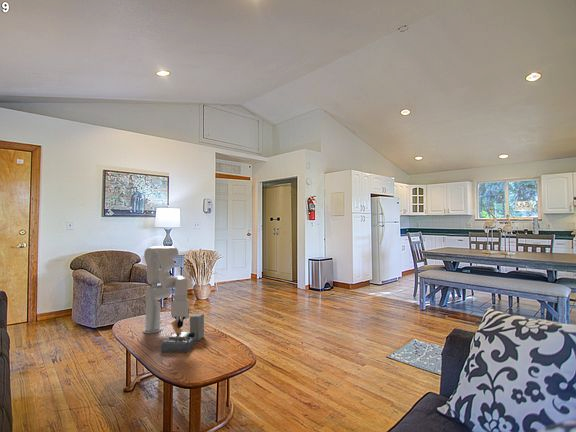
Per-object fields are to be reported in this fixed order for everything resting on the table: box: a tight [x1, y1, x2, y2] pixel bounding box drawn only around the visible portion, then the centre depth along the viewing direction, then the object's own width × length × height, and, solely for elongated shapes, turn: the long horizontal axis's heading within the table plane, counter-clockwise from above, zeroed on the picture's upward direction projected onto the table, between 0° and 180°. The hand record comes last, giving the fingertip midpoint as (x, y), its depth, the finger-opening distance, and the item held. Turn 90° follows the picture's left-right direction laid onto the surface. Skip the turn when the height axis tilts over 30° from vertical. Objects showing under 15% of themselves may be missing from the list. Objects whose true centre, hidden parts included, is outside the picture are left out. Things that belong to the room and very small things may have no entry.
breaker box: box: [160, 331, 197, 354], centre depth 188 cm, size 16×16×8 cm
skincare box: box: [189, 313, 205, 342], centre depth 203 cm, size 8×7×16 cm
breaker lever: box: [170, 319, 183, 335], centre depth 189 cm, size 5×2×8 cm, turn 178°
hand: (180, 327), depth 188 cm, fingers closed
